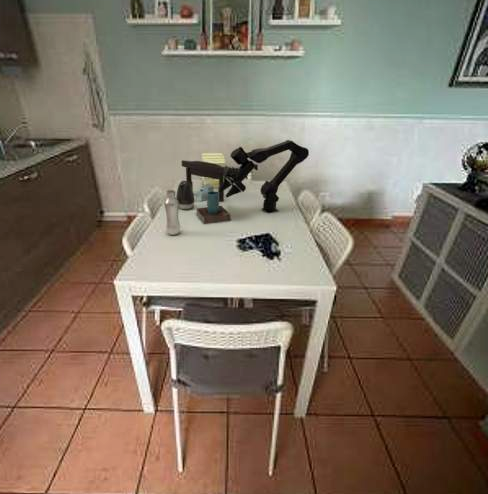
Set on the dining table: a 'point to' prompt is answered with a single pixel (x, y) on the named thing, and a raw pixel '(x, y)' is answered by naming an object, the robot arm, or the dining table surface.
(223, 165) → the pale yellow striped pieces
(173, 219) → the plastic bottle
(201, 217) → the holder
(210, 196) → the tumbler
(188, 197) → the black rounded dome
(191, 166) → the stool
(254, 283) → the dining table surface
